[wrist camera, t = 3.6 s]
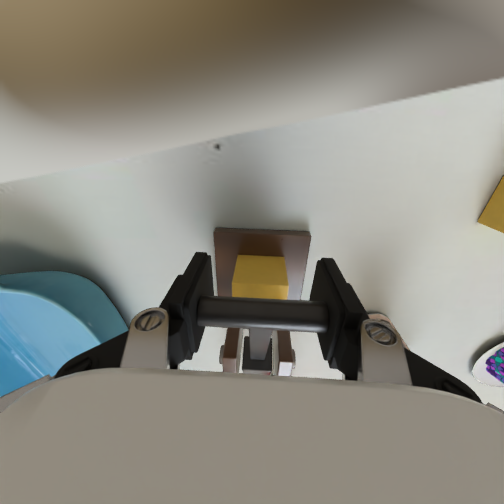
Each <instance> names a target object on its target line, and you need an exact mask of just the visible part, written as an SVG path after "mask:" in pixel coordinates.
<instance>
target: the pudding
mask: <svg viewBox="0 0 504 504" xmlns="http://www.w3.org/2000/svg"><path fill="white" fill-rule="evenodd" d="M472 373H473V377H474V378H475V379H476V380H477V381H478V382H480V383H482V384H485V385H489V386H496V387H504V342H503V343H501V344H499V345H497V346H495V347H493V348H492V349H490V350H488V351H487V352H486V353H484V354H483V355H482V356H481V357H480V358H479V359H478V360H477V361H476V363H475V364H474V367H473V371H472Z"/></svg>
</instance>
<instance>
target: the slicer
mask: <svg viewBox="0 0 504 504" xmlns="http://www.w3.org/2000/svg"><path fill="white" fill-rule="evenodd" d="M310 241H311V234H310V232H307V231H283V230H260V229H236V228H215V230H214V247H215V261H216V276H217V291H218V296H228V297H232V280H233V275H234V271H235V266H236V261H237V257H238V255H253V256H275V257H284V259H285V265H286V271H287V277H288V283H289V289H288V296H287V300H300V298H301V293H302V287H303V281H304V276H305V270H306V264H307V258H308V253H309V247H310ZM223 328H227V327H223ZM243 329H244V328H228V329H227V334H226V339H225V345H222V346H221V349H220V356H219V362H220V364H223V372H228V373H239V367H240V357H241V348H242V338H243ZM272 344H273V369H274V375H276V376H291V372H292V368H295V351H294V349H292V347H291V339H290V331H280V330H273V331H272Z"/></svg>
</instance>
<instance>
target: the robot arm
mask: <svg viewBox="0 0 504 504" xmlns="http://www.w3.org/2000/svg"><path fill="white" fill-rule="evenodd" d="M202 295H209V296H214V290H213V277H212V265H211V256H210V255H207V253H205V252H196V253H195V255H194V256H193V258H192V260H191V262H190V263H189V265H188V267H187V269H186V271H185V272H184V274H183V275H178V276H177V278H176V279H175V281H174V283H173V284H172V286H171V288H170V289H169V291H168V293H167V294H166V296H165V298H164V299H163V301H162V303H161V305H160V306H159V308H158V307H155V308H149V309H146V310H144V311H141V312H140V313H138V314H137V315H136V316H135V317H134V318H133V319H132V321H131V323H130V327H129V330H128V331H126V332H124V333H122V334H120V335H118V336H116V337H114V338H112V339H110V340H108V341H106V342H104V343H102V344H100V345H98V346H95V347H93V348H91V349H89V350H87V351H85V352H83V353H81V354H79V355H77V356H75V357H74V358H72V359H70V360H69V361H67V362H66V363H65V364H64V365H63V366H62V367H61V368H60V369H59V370H58V371H57V373H56V375H54V376H52V377H51V376H50V374H48V375H46V376H44V377H42V378H40V379H37V380H35V381H33V382H31V383H29V384H27V385H25V386H22V387H20V388H18V389H16V390H14V391H12V392H10V393H8V394H5V395H3V396H1V397H0V504H504V411H503V410H501V409H499V408H497V407H496V406H494V405H492V404H490V403H489V402H488V403H487V404H486V405H485V404H483V403H482V402H481V400H480V398H479V397H478V396H477V394H476V393H475V392H474V391H473V390H472V389H471V388H470V387H469V386H467V385H466V384H465V383H463V382H462V381H460V380H459V379H457V378H455V377H454V376H452V375H450V374H449V373H447V372H445V371H444V370H442V369H440V368H438V367H437V366H435V365H433V364H432V363H430V362H428V361H427V360H425V359H423V358H421V357H420V356H418V355H416V354H415V353H413V352H411V351H410V350H408V349H406V348H404V347H403V343H402V339H401V336H400V334H399V333H398V332H397V331H396V330H395V329H394V328H393V327H392V326H390V325H389V324H387V323H385V322H383V321H380V320H376V319H370V318H369V316H368V314H367V313H366V311H365V309H364V307H363V305H362V304H361V302H360V300H359V298H358V297H357V295H356V293H355V291H354V290H353V288H352V286H351V285H350V284H349V283H346V281H345V279H344V277H343V275H342V273H341V272H340V270H339V268H338V266H337V264H336V262H335V261H334V259H333V258H321V260H318V261H317V265H316V270H315V275H314V280H313V285H312V289H311V294H310V300H309V301H323V302H325V303H326V304H327V307H328V311H329V327H328V330H327V332H326V333H317V335H318V339H319V343H320V346H321V350H322V354H323V358H324V360H328V363H329V367H330V368H333V369H338V370H339V371H341V372H342V373H343V374H342V380H336V379H322V378H307V377H292V376H276V375H260V374H244V373H228V372H210V371H193V370H180V363H181V362H183V361H184V360H185V359H186V360H191V359H192V356H193V353H194V352H195V353H197V352H198V349H199V346H200V342H201V339H202V336H203V332H204V329H205V326H199V325H198V324H197V318H196V314H197V306H198V302H199V299H200V297H201V296H202Z"/></svg>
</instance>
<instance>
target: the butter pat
mask: <svg viewBox="0 0 504 504" xmlns="http://www.w3.org/2000/svg"><path fill="white" fill-rule="evenodd" d="M477 222H479V223H481V224H483V225H486V226H488V227H490V228H493V229H495V230H497V231H500V232H502V233H504V176H503V178H502V179H501V181H500V183H499V185H498V186H497V188H496V190H495V192H494V193H493V195H492V197H491V199H490V200H489V202H488V204H487V206H486V207H485V209H484V211H483V213H482V214H481V216H480V218H479V220H478V221H477Z"/></svg>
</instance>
